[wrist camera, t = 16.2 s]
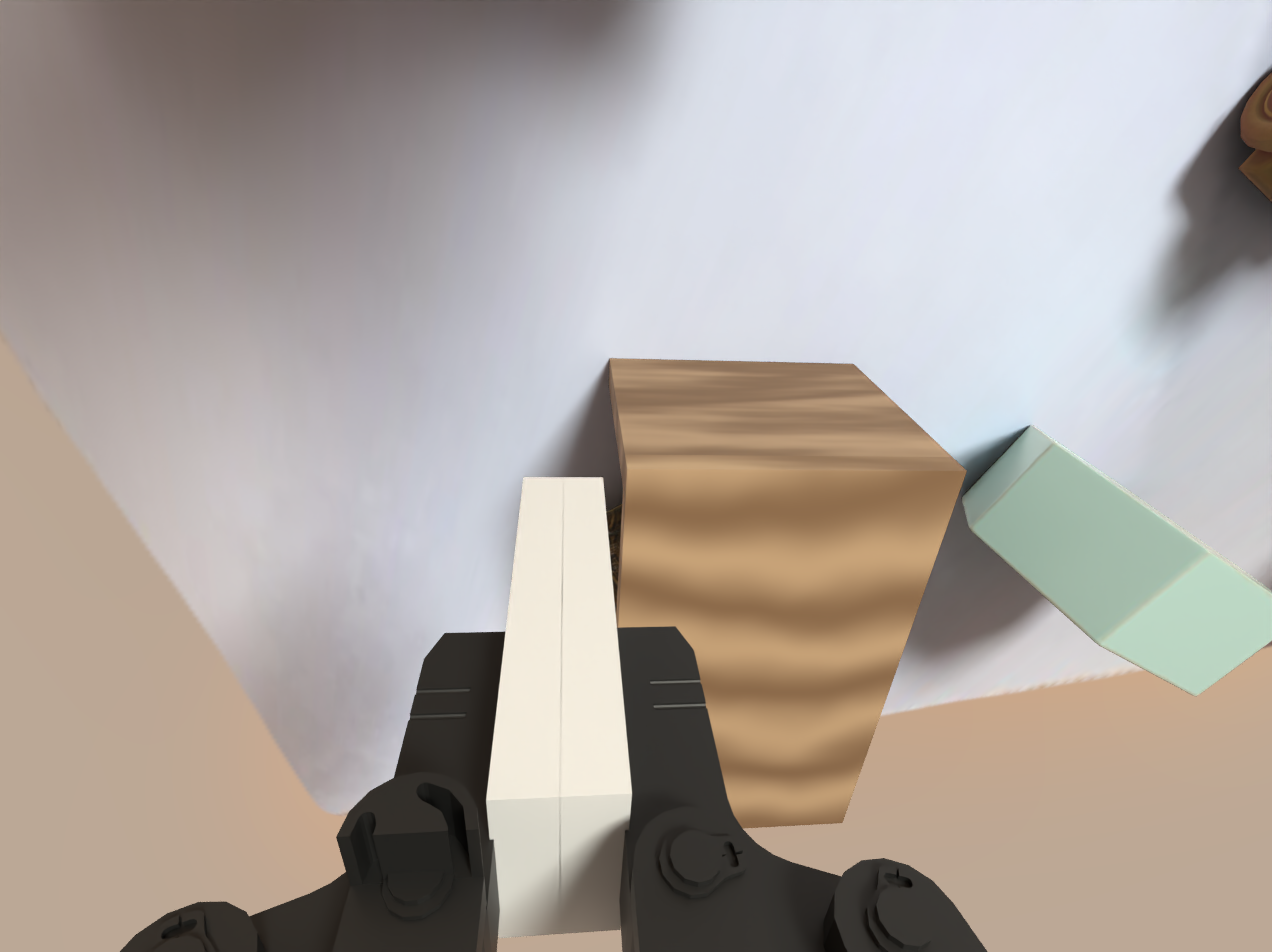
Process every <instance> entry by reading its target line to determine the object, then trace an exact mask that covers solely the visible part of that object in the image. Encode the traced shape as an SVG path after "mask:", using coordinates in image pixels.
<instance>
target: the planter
mask: <svg viewBox="0 0 1272 952" xmlns="http://www.w3.org/2000/svg"><path fill="white" fill-rule="evenodd" d="M962 502H963V506H964V510H965V514H966V518H967V522H968V526H969V529H970V530H971V531H972V532H973V533H974V534H975V535H976V536H977V537H978V538H980V539H981V540H982V541H983V542H984V543H985V544H986V545H987V546H988V547H990V548H991V549H992V550H993V551H994V552H995V553H996V554H997V555H998V556H1000V557H1001V558H1002V559H1003V560H1004V561H1005V562H1006V563H1007V564H1008V565H1010V566H1011V567H1012V568H1013V569H1014V570H1015V571H1016V572H1017V573H1018V574H1020V575H1021V576H1022V577H1023V578H1024V579H1025V580H1026V581H1027V582H1028V583H1030V584H1031V585H1032V586H1033V587H1034V588H1035V589H1036V590H1037V591H1038V592H1040V593H1041V594H1042V595H1043V596H1044V597H1045V598H1046V599H1047V600H1048V601H1050V602H1051V603H1052V604H1053V605H1054V606H1055V607H1056V608H1057V609H1058V610H1060V611H1061V612H1062V613H1063V614H1064V615H1065V616H1066V617H1067V618H1069V619H1070V620H1071V621H1072V622H1073V623H1074V624H1075V625H1076V626H1077V627H1079V628H1080V629H1081V630H1082V631H1083V632H1084V633H1085V634H1086V635H1087V636H1089V637H1090V638H1091V639H1092V640H1093V641H1094V642H1095V643H1097V644H1098V645H1099V646H1101V647H1103V648H1105V649H1107V650H1108V651H1110V652H1112V653H1114V654H1116V655H1118V656H1120V657H1122V658H1123V659H1125V660H1127V661H1129V662H1131V663H1133V664H1135V665H1137V666H1138V667H1140V668H1142V669H1144V670H1146V671H1148V672H1150V673H1152V674H1153V675H1156V676H1157V677H1159V678H1161V679H1163V680H1165V681H1167V682H1169V683H1170V684H1172V685H1174V686H1176V687H1178V688H1180V689H1182V690H1184V691H1185V692H1187V693H1189V694H1191V695H1193V696H1198V695H1199V694H1201V693H1202V692H1204V691H1205V690H1206V689H1207V688H1209V687H1210V686H1212V685H1213V684H1214V683H1216V682H1217V681H1218V680H1220V679H1221V678H1222V677H1224V676H1225V675H1227V674H1228V673H1229V672H1230V671H1232V670H1233V669H1234V668H1236V667H1237V666H1239V665H1240V664H1241V663H1243V662H1244V661H1245V660H1247V659H1248V658H1249V657H1251V656H1252V655H1254V654H1255V653H1256V652H1258V651H1259V650H1260V649H1262V648H1263V647H1264V646H1266V645H1267V644H1269V643H1270V642H1271V641H1272V590H1270V589H1269V588H1267V587H1266V586H1265V585H1263V584H1262V583H1261V582H1259V581H1258V580H1256V579H1255V578H1254V577H1252V576H1251V575H1249V574H1248V573H1247V572H1245V571H1244V570H1243V569H1241V568H1240V567H1238V566H1237V565H1236V564H1234V563H1233V562H1231V561H1230V560H1228V559H1227V558H1225V557H1224V556H1222V555H1221V554H1219V553H1218V552H1217V551H1215V550H1214V549H1212V548H1211V547H1209V546H1208V545H1207V544H1205V543H1204V542H1202V541H1201V540H1199V539H1198V538H1196V537H1195V536H1194V535H1192V534H1191V533H1189V532H1188V531H1186V530H1185V529H1184V528H1182V527H1181V526H1179V525H1178V524H1176V523H1175V522H1173V521H1172V520H1171V519H1169V518H1168V517H1166V516H1165V515H1163V514H1162V513H1161V512H1159V511H1158V510H1156V509H1155V508H1153V507H1152V506H1151V505H1149V504H1148V503H1146V502H1145V501H1143V500H1142V499H1141V498H1139V497H1138V496H1136V495H1135V494H1133V493H1132V492H1130V491H1129V490H1128V489H1126V488H1125V487H1123V486H1122V485H1120V484H1119V483H1118V482H1116V481H1115V480H1113V479H1112V478H1110V477H1109V476H1107V475H1106V474H1104V473H1103V472H1102V471H1100V470H1099V469H1097V468H1096V467H1094V466H1093V465H1091V464H1090V463H1088V462H1087V461H1085V460H1084V459H1082V458H1081V457H1079V456H1078V455H1076V454H1075V453H1073V452H1072V451H1070V450H1069V449H1067V448H1066V447H1065V446H1063V445H1062V444H1060V443H1059V442H1057V441H1056V440H1054V439H1053V438H1051V437H1050V436H1048V435H1047V434H1045V433H1044V432H1042V431H1041V430H1040V429H1038V428H1037V427H1035V426H1034V425H1030V426H1029V427H1028V428H1027V429H1026V430H1025V432H1024V433H1023V434H1022V435H1021V436H1020V437H1019V438H1018V439H1017V440H1016V441H1015V442H1014V443H1013V444H1012V445H1011V446H1010V447H1009V448H1008V449H1007V450H1006V451H1005V452H1004V454H1003V455H1002V456H1001V457H1000V458H999V459H998V460H997V461H996V462H995V463H994V464H993V465H992V466H991V467H990V468H989V469H988V470H987V471H986V472H985V473H984V474H983V476H982V477H981V478H980V479H979V480H978V481H977V482H976V483H975V484H974V485H973V486H972V487H971V488H970V489H969V490H968V491H967V492H966V493H965V494H964V495H963V497H962Z"/></svg>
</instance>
